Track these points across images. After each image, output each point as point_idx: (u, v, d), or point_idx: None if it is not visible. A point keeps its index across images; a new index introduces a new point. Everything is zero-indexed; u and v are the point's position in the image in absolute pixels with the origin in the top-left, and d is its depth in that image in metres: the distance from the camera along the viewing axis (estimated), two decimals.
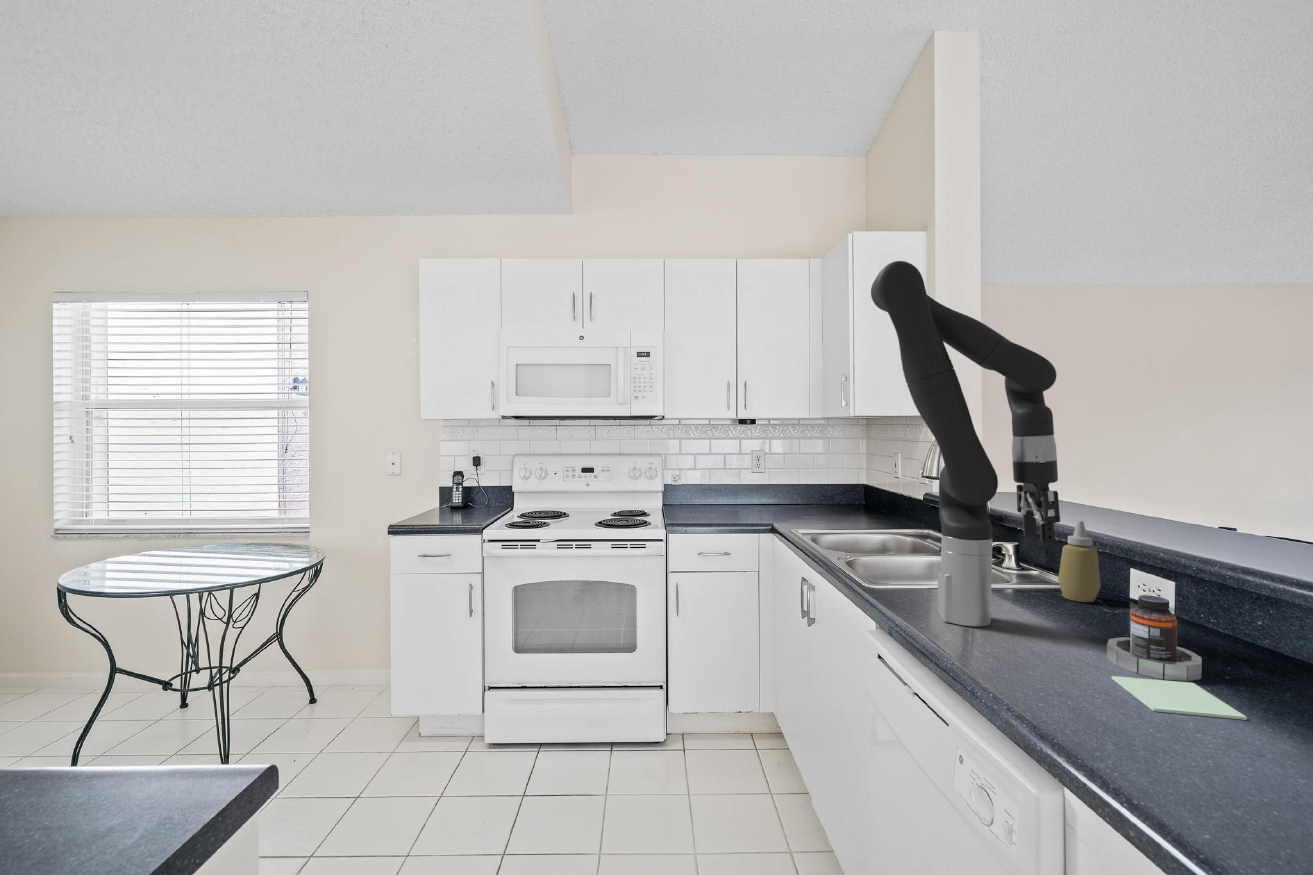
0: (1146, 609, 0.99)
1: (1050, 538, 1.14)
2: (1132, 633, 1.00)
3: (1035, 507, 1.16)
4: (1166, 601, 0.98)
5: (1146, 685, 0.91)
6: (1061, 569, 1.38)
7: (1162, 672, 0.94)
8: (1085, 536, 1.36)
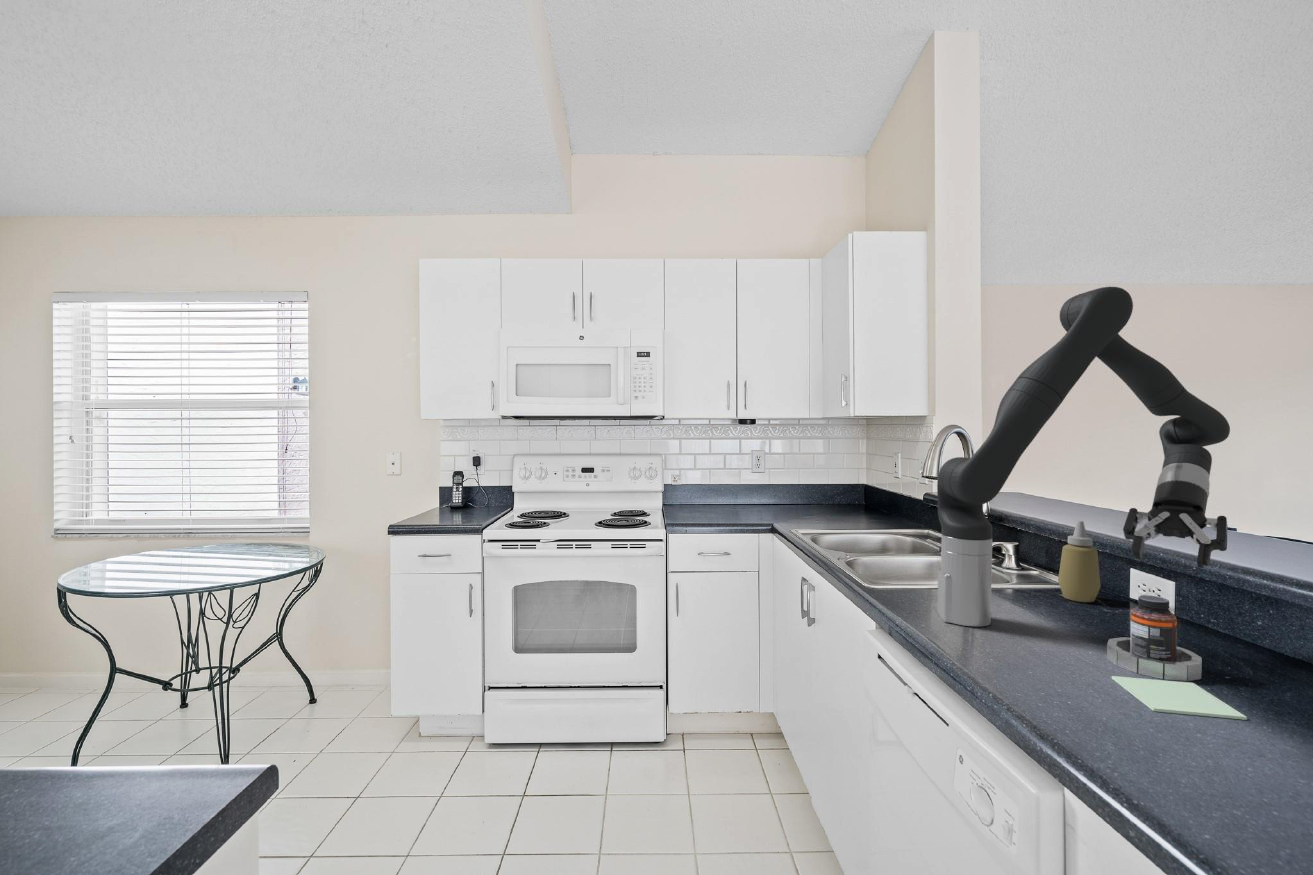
0: (1146, 609, 0.99)
1: None
2: (1132, 633, 1.00)
3: (1199, 527, 1.06)
4: (1166, 601, 0.98)
5: (1146, 685, 0.91)
6: (1061, 569, 1.38)
7: (1162, 672, 0.94)
8: (1085, 536, 1.36)
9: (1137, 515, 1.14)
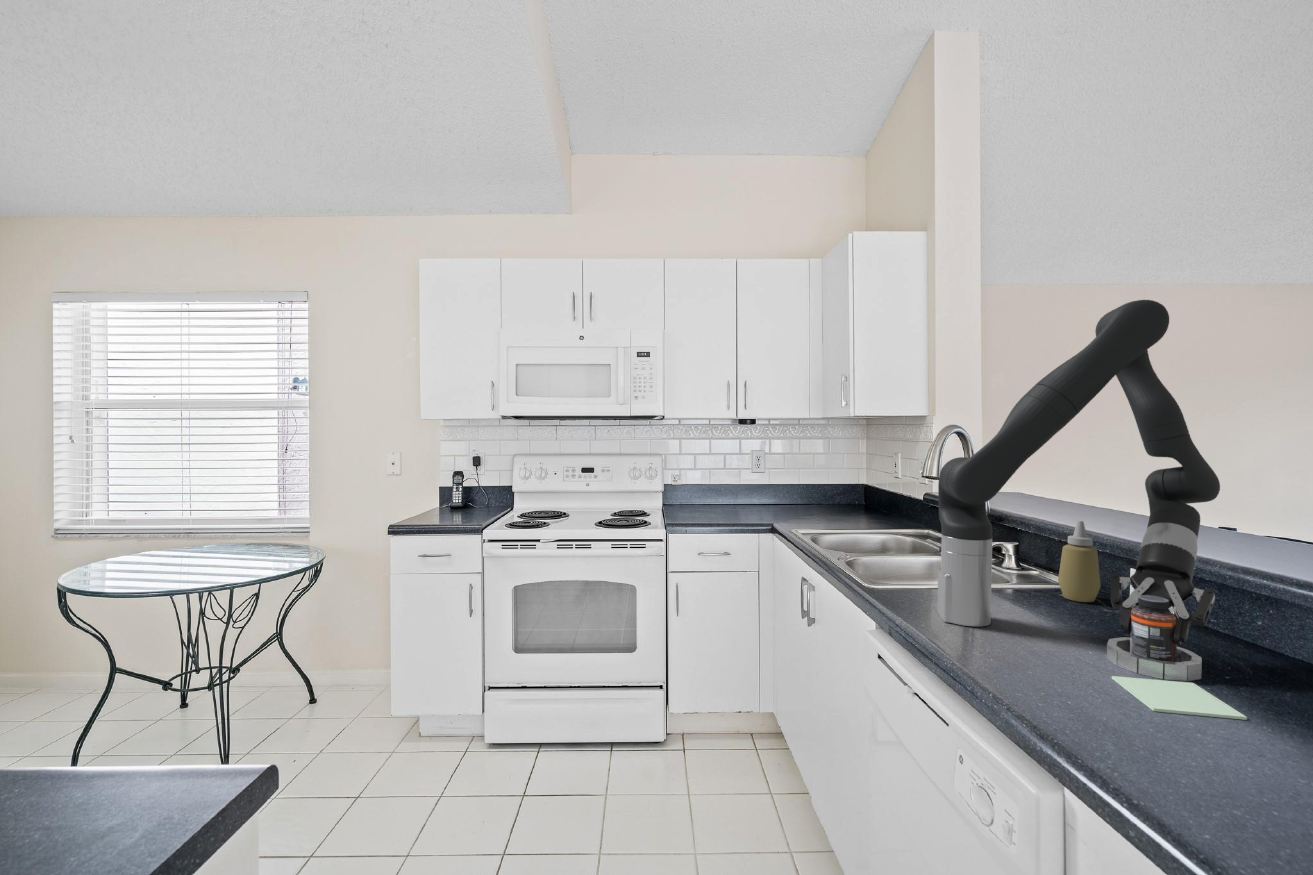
0: (1146, 609, 0.99)
1: (1185, 637, 0.96)
2: (1132, 633, 1.00)
3: (1181, 599, 0.98)
4: (1166, 601, 0.98)
5: (1146, 685, 0.91)
6: (1061, 569, 1.38)
7: (1162, 672, 0.94)
8: (1085, 536, 1.36)
9: (1121, 581, 1.06)
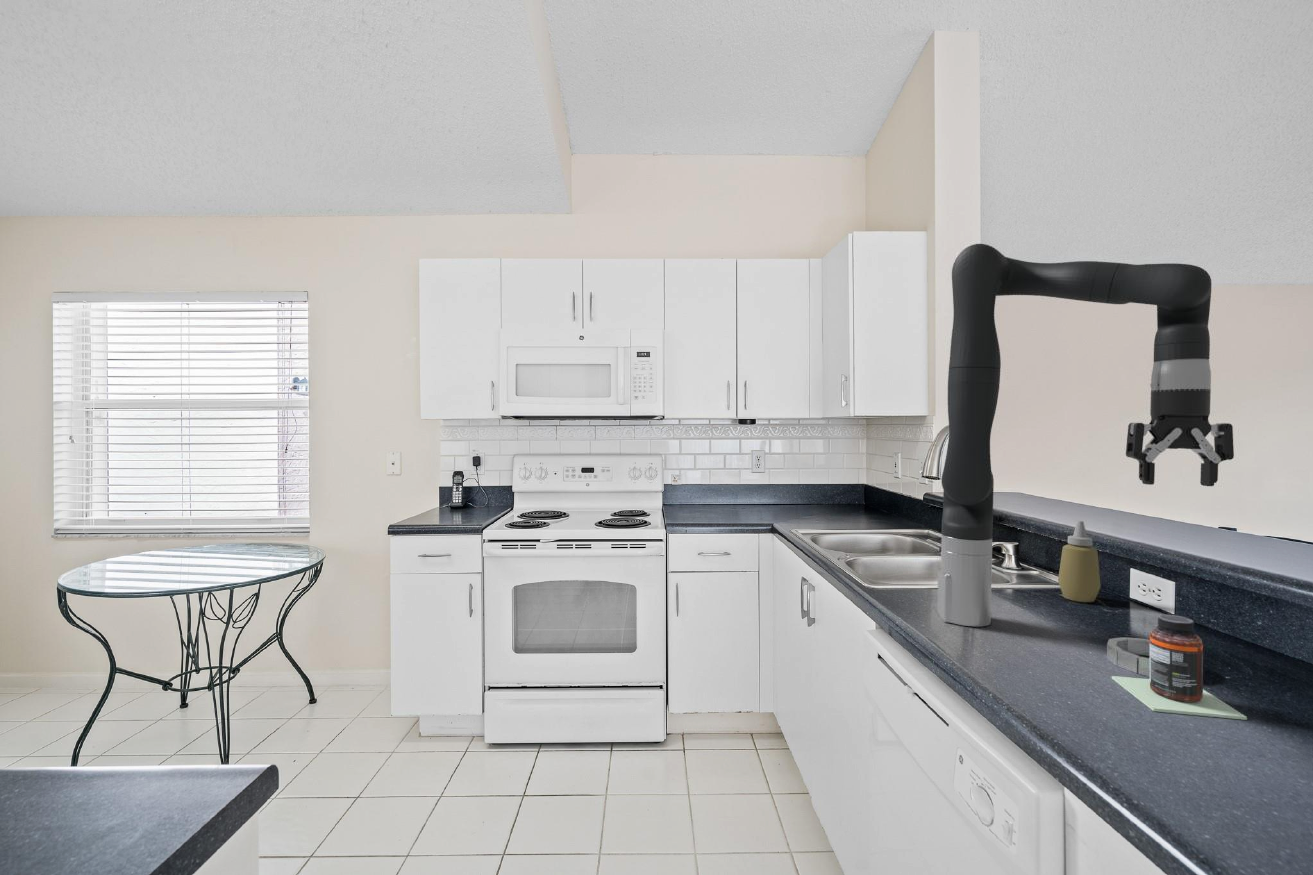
0: (1167, 631, 0.87)
1: None
2: (1151, 658, 0.89)
3: (1209, 444, 0.97)
4: (1190, 622, 0.86)
5: (1146, 685, 0.91)
6: (1061, 569, 1.38)
7: None
8: (1085, 536, 1.36)
9: (1145, 432, 1.00)
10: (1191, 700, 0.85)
